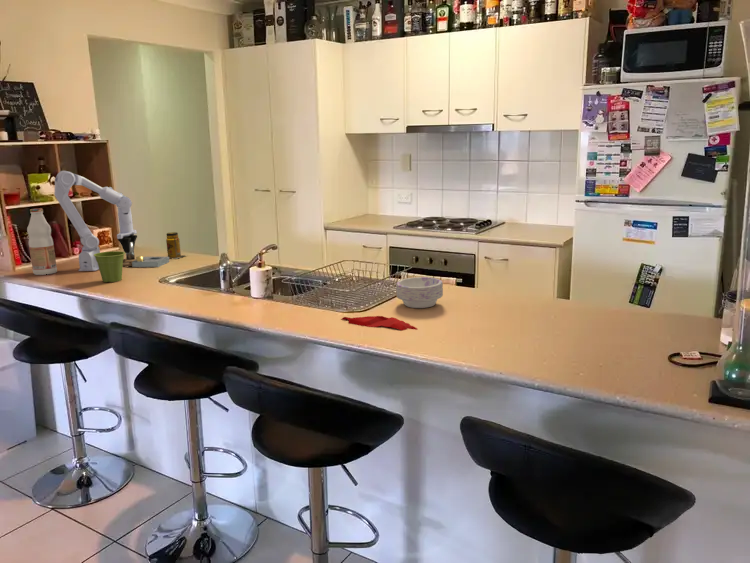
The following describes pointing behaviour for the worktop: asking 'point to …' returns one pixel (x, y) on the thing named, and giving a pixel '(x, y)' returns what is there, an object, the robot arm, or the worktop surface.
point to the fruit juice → (41, 244)
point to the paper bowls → (419, 291)
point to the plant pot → (110, 265)
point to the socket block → (151, 262)
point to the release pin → (139, 258)
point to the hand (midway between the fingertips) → (129, 251)
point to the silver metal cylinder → (130, 253)
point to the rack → (127, 262)
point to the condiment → (173, 245)
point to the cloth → (380, 322)
